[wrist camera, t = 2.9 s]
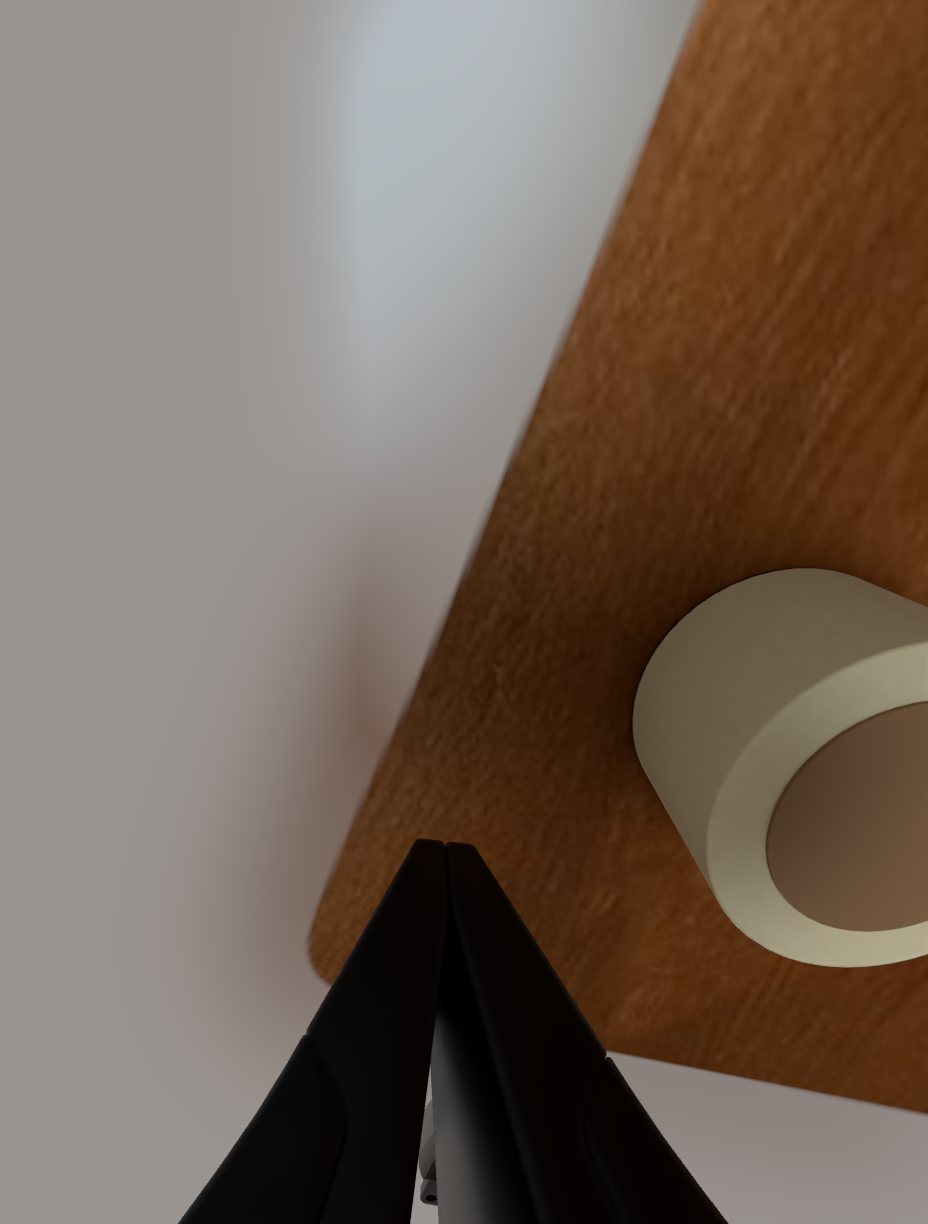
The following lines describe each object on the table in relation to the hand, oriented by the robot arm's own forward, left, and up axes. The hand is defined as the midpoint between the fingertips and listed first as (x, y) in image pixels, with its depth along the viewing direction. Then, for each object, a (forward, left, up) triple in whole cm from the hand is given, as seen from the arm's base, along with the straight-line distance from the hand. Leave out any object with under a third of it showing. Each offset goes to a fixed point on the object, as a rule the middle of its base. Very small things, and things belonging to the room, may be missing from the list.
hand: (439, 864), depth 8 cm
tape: (+2, -9, -7) cm, 12 cm away
